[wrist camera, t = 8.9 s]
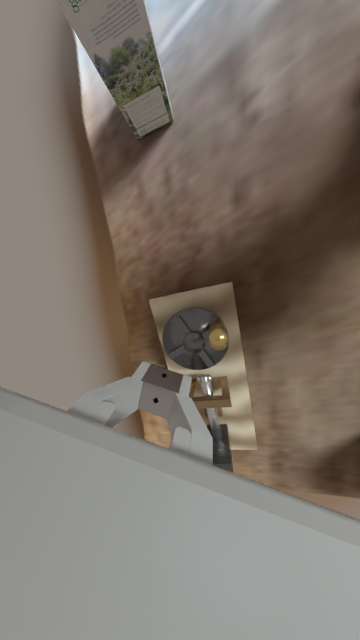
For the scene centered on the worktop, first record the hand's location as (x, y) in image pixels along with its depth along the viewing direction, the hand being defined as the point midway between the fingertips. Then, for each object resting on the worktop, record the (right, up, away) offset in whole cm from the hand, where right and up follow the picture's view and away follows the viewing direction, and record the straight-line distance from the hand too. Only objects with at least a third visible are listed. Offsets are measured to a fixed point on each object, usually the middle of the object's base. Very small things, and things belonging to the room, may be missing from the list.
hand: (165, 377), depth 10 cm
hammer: (+7, -13, +23) cm, 27 cm away
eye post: (+6, -8, +22) cm, 24 cm away
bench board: (+6, -8, +23) cm, 25 cm away
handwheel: (+3, +1, +16) cm, 17 cm away
